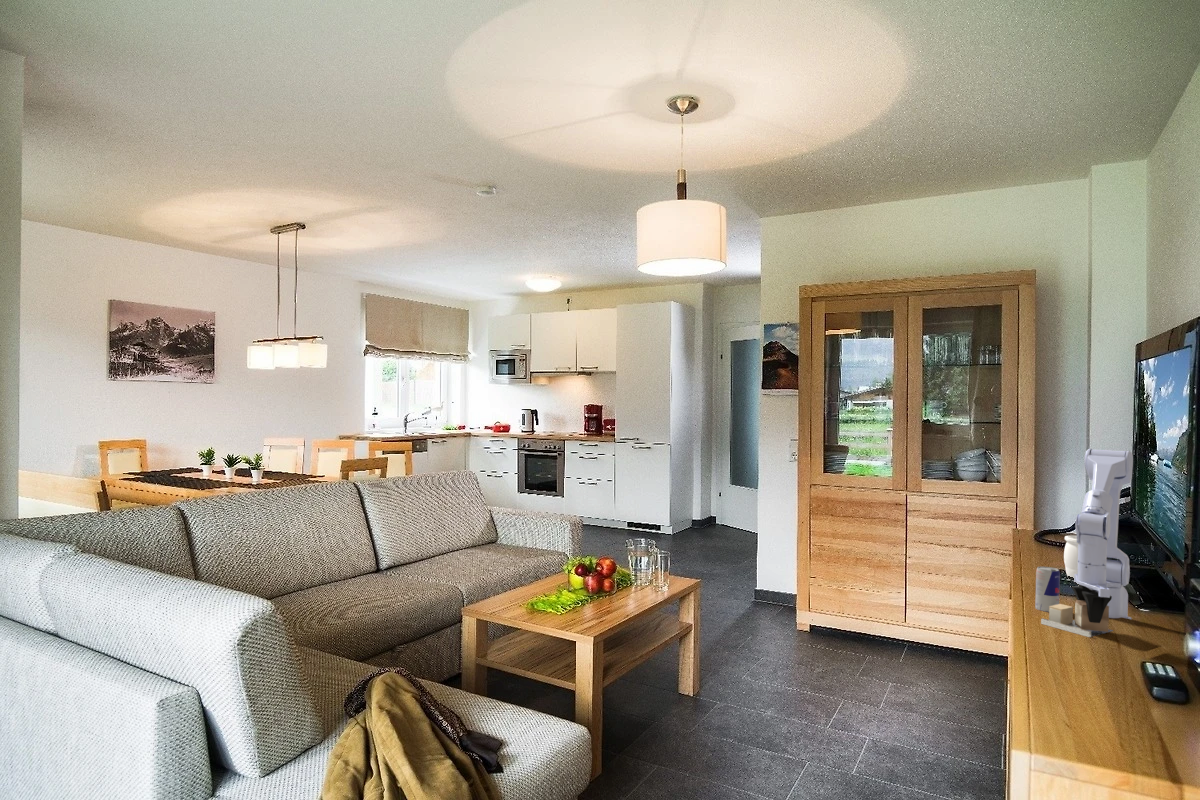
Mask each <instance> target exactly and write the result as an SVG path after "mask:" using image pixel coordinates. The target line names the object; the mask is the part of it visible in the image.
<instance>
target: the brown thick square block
mask: <svg viewBox="0 0 1200 800" xmlns="http://www.w3.org/2000/svg"><path fill="white" fill-rule="evenodd" d="M1074 607H1075V608H1074V620H1075V625H1077V626H1078V627H1079V628H1081V629H1084V630H1093V631H1105V632H1107V633H1109V632H1108V629H1109V619H1110V618H1109V606H1106V608H1105V610H1104V613H1103V616H1102V619H1101V622H1100V623H1093V622H1089V618H1088V612H1087V605H1086V601H1083V600H1077V599H1076V600H1075V604H1074Z"/></svg>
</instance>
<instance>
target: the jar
mask: <svg viewBox="0 0 1200 800" xmlns="http://www.w3.org/2000/svg"><path fill="white" fill-rule="evenodd" d="M1064 541H1065V542H1066V543H1065V546H1064V549H1063V550H1064V551H1063V561H1064V566H1065V568H1064V569H1065V572H1066V576H1067V577H1068V576H1070V577H1073V578H1074V574H1077V573H1078V543H1077V535H1065V536H1064Z"/></svg>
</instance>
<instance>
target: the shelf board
mask: <svg viewBox="0 0 1200 800" xmlns="http://www.w3.org/2000/svg"><path fill="white" fill-rule="evenodd" d="M1040 624H1041V625H1044V626H1048V627H1051V628H1055V629H1059V630H1062V631H1065V632H1069V633H1073V634H1076V635H1080V636H1083V637H1087V638H1092V637H1096V636H1099V635H1102V634H1106V633H1111V632H1114V629H1109V628H1108V632H1105V631H1093V630H1084V629H1081V628H1079V627H1078V626H1077V625H1075V619H1073V623H1070V624H1066V625H1065V624H1062V623H1058V622H1054V621H1051V620H1049V619H1046V618H1041V619H1040Z"/></svg>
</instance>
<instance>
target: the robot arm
mask: <svg viewBox="0 0 1200 800" xmlns="http://www.w3.org/2000/svg"><path fill="white" fill-rule="evenodd" d="M1133 465H1134V456H1133V453H1132V451H1130V450H1116V449H1115V450H1114V449H1099V448H1098V449H1095V448H1088V449H1087V450H1086V451H1085V454H1084V469H1085V471H1086V474H1087V476H1088V479H1089V480H1090V481H1092V484H1091V490H1089V491H1087V492H1086V493H1085V494H1084V499H1083V502H1082V503H1083V504H1082V507H1081V511H1080V514H1079V513H1077V515H1076V518H1075V532H1076V536H1077V543H1078V573H1077V574H1074V582H1076V583H1077V584H1079V585H1078V586H1072V587H1071V588H1072V591H1073V592H1074V593H1073V594H1074V595H1075V597H1076V600H1083V601H1086V605H1087V612H1088V618H1089V622H1093V623H1100V622H1101V619H1102V616H1103V613H1104V610H1105V608H1106V606H1109V619H1120V618H1124V619H1128V620H1132V619H1133V618H1132V616H1129V614H1128V613H1129V612H1128V611H1129V610H1128V608H1129V594H1128V591H1127V589H1126V586H1127V585H1128V584H1129V582H1130V575H1131V572H1130V571H1131V569H1130V568H1131V567H1130V558H1129V556H1128V554H1126V553H1125V552H1124V551H1122V550H1121V549H1120V548H1118V534H1119V516H1120V498H1121V491H1122V489H1123V486H1124V485H1127V484H1130V483H1131V481H1132V479H1133V467H1134V466H1133ZM1108 558H1109V559H1108ZM1110 558H1111V559H1110Z"/></svg>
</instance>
